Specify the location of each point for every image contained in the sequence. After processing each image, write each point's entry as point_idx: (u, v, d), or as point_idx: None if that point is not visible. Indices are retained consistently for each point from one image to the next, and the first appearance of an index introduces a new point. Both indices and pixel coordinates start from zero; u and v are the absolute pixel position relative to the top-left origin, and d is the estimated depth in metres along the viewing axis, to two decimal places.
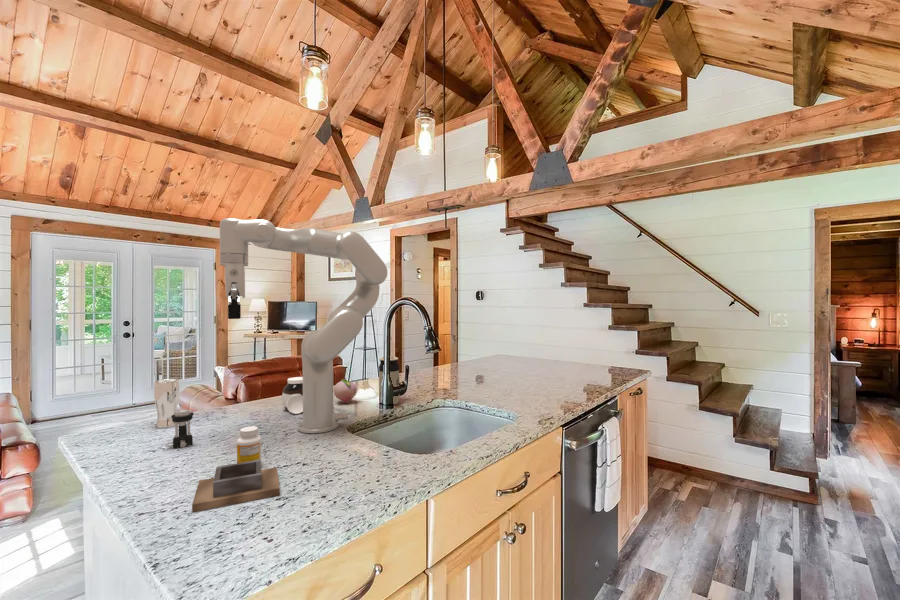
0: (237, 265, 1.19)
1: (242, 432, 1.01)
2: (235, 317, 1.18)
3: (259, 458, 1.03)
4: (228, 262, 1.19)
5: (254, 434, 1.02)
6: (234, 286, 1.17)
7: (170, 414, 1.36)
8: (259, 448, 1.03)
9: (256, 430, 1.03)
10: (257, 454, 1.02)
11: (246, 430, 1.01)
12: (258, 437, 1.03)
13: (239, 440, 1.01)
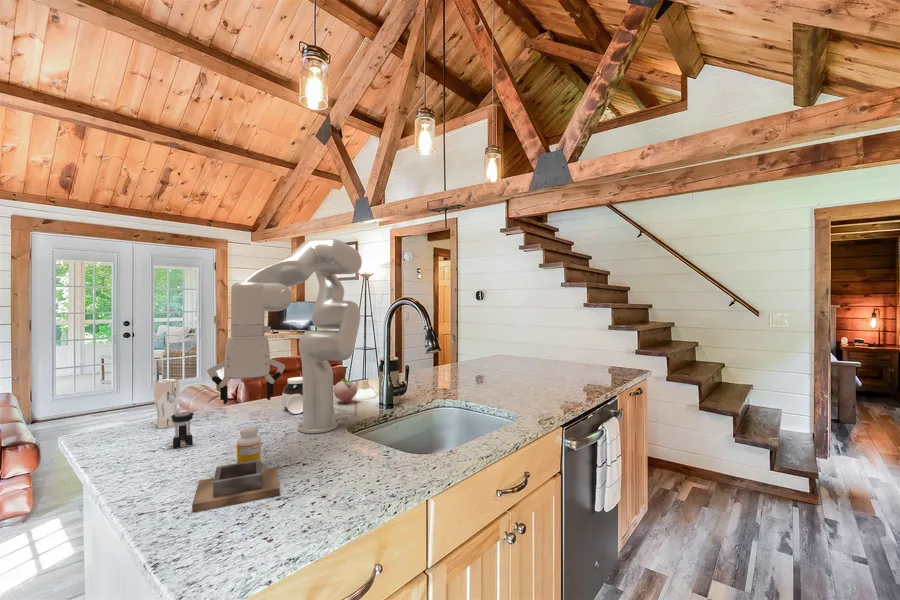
0: None
1: (242, 432, 1.01)
2: None
3: (259, 458, 1.03)
4: (263, 335, 1.03)
5: (254, 434, 1.02)
6: None
7: (170, 414, 1.36)
8: (259, 448, 1.03)
9: (256, 430, 1.03)
10: (257, 454, 1.02)
11: (246, 430, 1.01)
12: (258, 437, 1.03)
13: (239, 440, 1.01)
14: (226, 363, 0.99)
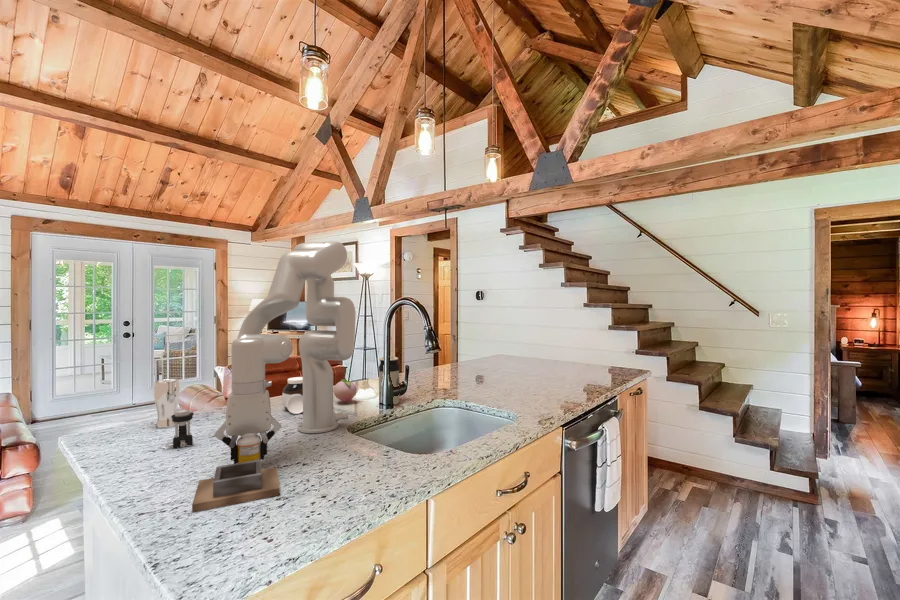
0: None
1: None
2: None
3: (259, 458, 1.03)
4: (263, 390, 1.03)
5: (254, 434, 1.02)
6: (276, 420, 1.05)
7: (170, 414, 1.36)
8: (259, 448, 1.03)
9: None
10: (257, 454, 1.02)
11: None
12: (258, 437, 1.03)
13: (239, 440, 1.01)
14: (227, 421, 0.99)
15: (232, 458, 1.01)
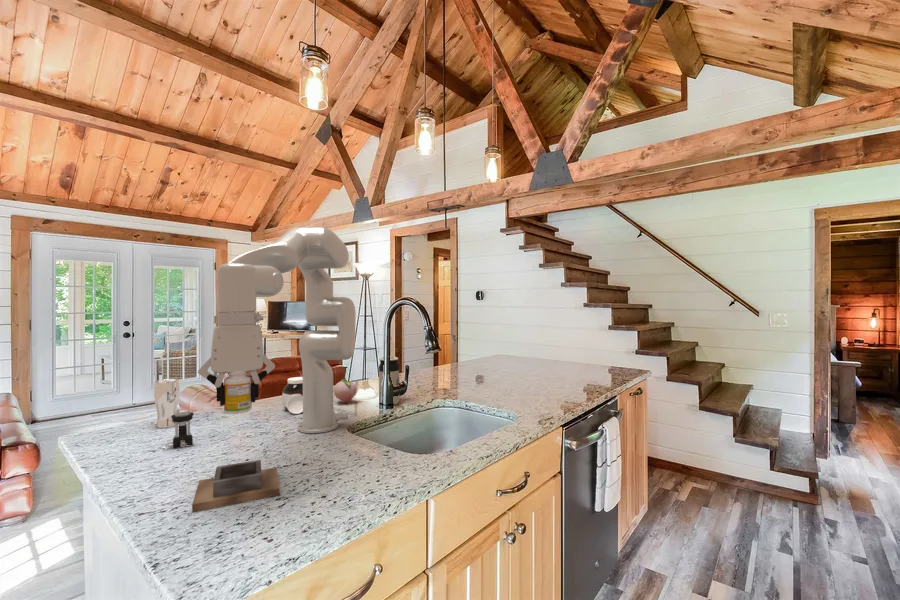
0: None
1: None
2: None
3: (249, 400, 0.90)
4: (254, 323, 0.90)
5: (244, 372, 0.89)
6: (268, 359, 0.93)
7: (170, 414, 1.36)
8: (249, 389, 0.90)
9: None
10: (247, 396, 0.89)
11: None
12: (248, 377, 0.90)
13: (226, 379, 0.88)
14: (213, 356, 0.86)
15: (218, 399, 0.88)
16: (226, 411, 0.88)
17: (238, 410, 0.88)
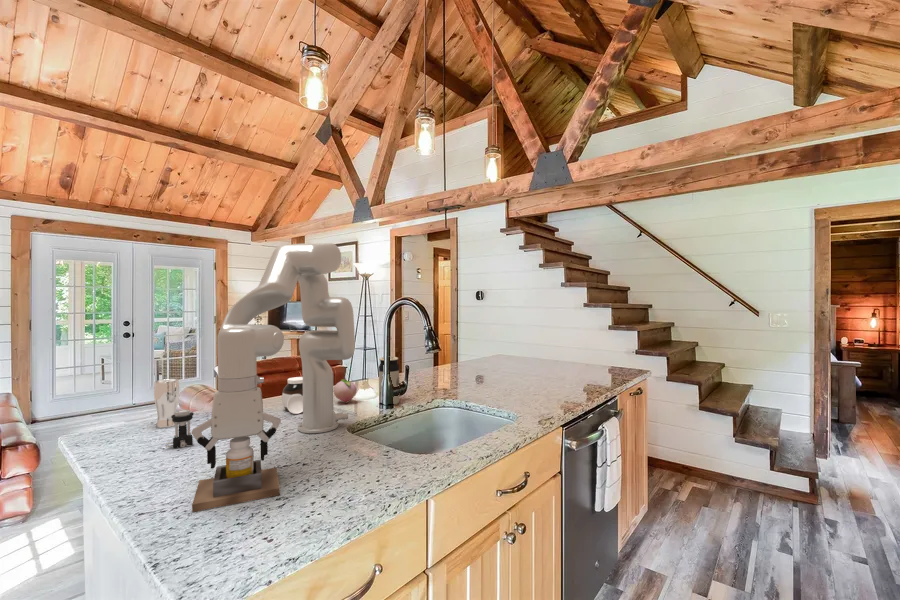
0: (260, 389, 0.93)
1: (232, 443, 0.89)
2: None
3: (251, 473, 0.90)
4: (255, 387, 0.90)
5: (245, 446, 0.90)
6: (272, 416, 0.93)
7: (170, 414, 1.36)
8: (251, 462, 0.90)
9: (248, 441, 0.90)
10: (249, 469, 0.89)
11: (236, 441, 0.89)
12: (250, 449, 0.90)
13: (228, 452, 0.89)
14: (213, 423, 0.86)
15: (209, 462, 0.87)
16: None
17: None
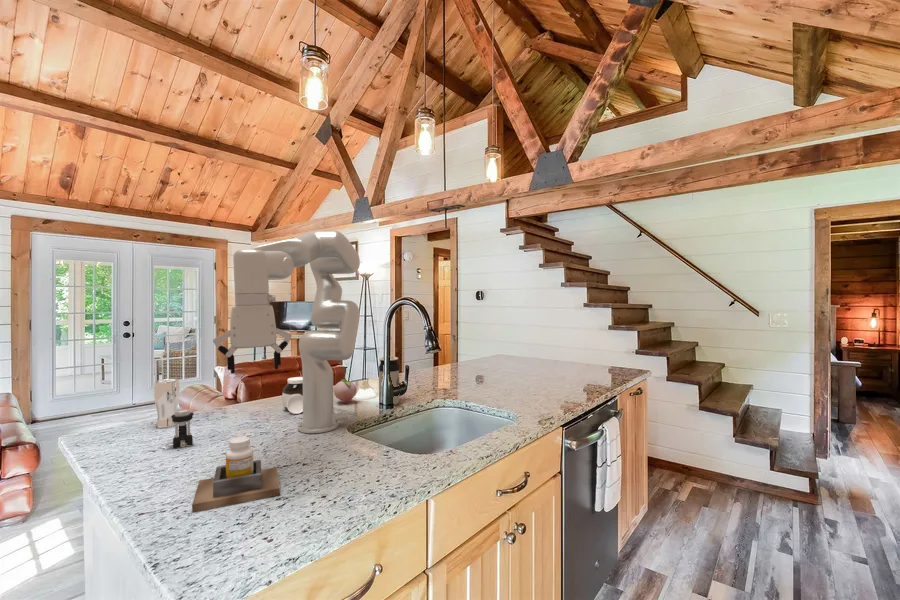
0: (272, 306, 1.03)
1: (231, 444, 0.89)
2: None
3: (251, 473, 0.90)
4: (268, 304, 1.01)
5: (245, 446, 0.90)
6: (283, 331, 1.04)
7: (170, 414, 1.36)
8: (251, 462, 0.90)
9: (248, 441, 0.90)
10: (249, 469, 0.89)
11: (236, 441, 0.89)
12: (249, 449, 0.90)
13: (228, 453, 0.89)
14: (232, 333, 0.97)
15: (229, 368, 0.98)
16: None
17: None
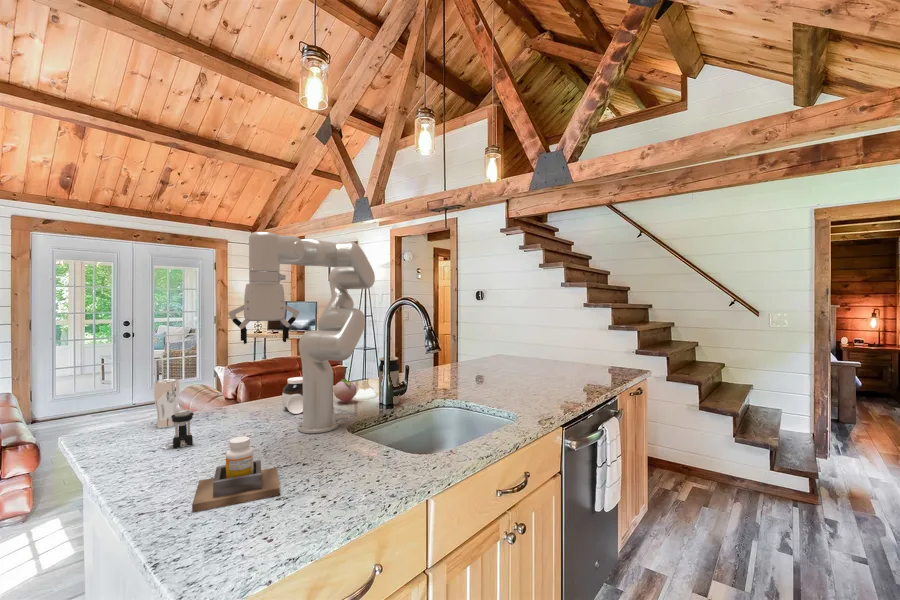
0: None
1: (232, 443, 0.89)
2: None
3: (251, 473, 0.90)
4: (278, 282, 1.11)
5: (245, 446, 0.90)
6: None
7: (170, 414, 1.36)
8: (251, 462, 0.90)
9: (248, 441, 0.90)
10: (249, 469, 0.89)
11: (236, 441, 0.89)
12: (249, 449, 0.90)
13: (228, 453, 0.89)
14: (245, 306, 1.07)
15: (242, 339, 1.08)
16: None
17: None
